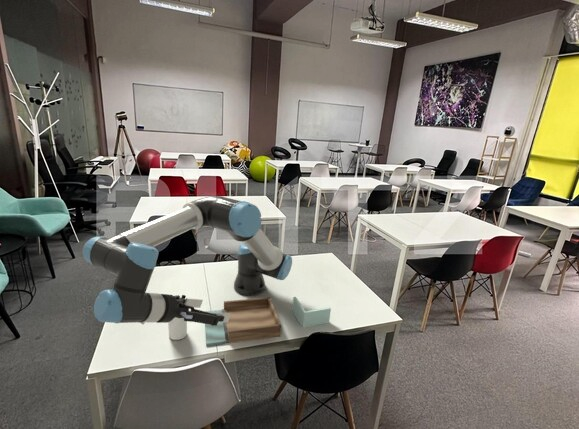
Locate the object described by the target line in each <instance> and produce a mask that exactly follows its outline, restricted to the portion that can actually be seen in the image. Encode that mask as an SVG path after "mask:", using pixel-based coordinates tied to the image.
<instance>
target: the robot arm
mask: <svg viewBox="0 0 579 429" xmlns="http://www.w3.org/2000/svg"><path fill="white" fill-rule="evenodd" d="M203 227H204V228H205V227H207V228H208V227H209V228H212V229H213V228H214V229H217V230H220V231H223V232H225V233H227V234H229V235H230V236H231V237H232V238H233V239H234V240H235V241H237V242H241V244H240V245H239V246H238V247H239V248H238V251H237V255H238V257H237V258H238V259H237V261H238V262H237V264H238V265H237V274H236V277H235V279H234V282H233V289H234V291H235V292H236V293H238V294H240V295H243V296H255V295H259V294H262V293H263V292H264V290H266V289H265V288H266V281H265V278H264V276H267V277H271V278H273V279H276V280H279V281H284V280H285V279H286V278H287V277H288V276H289V273H290V272H291V269H292V266H293V257H292V256H291V255H289V254H285V253H283V252H282V250H281V249H280V248H279V247H277V246H275V245H273V244H272V242H271V240H269V238H268V237H267V235H266V234H265V233H264V232H263V230H262V229H261V227H262V212H261V210H260V208H258V206H257V205H256V204H253V203H251V202H248V201H245V200H243V201H242V200H238V199H233V198H230V197H226V196H221V195H210V196H205V197H201V198H199V199H196V200H193V201H190V202H188V203H187V202H186V203H185V204H184V205H182V208H180V209H178V210H175V211H172V212H171V213H168V214H165V215H163V216H160V217H158V218H156V219H155V218H154V220H151V221H148V222H146V223H144V224H140V225H138V226H136V227H133V228H132V229H128V230H126V231H124V232H121V233H118V234H117V235H113V236H111V237H108V238H107V237H104V236H93V237H92V238H89V240H87V241H86V242H85V244H84V245H83V247H82V257H83V258H84V260H85V261H86V262H88V263H89V264H91V265H92V266H94V267H96V268H100V269H101V270H104V271H106V272H108V273H110V274H113V275H115V277H116V278H115V281H114V284H112V285H113V286H112V288H110V289H104V290H102V291H101V292H99V294H98V296H97V297H96V298H95V302H94V305H93V306H94V307H93V314H94V317H95V319H96V320H98V321H99V322H100V323H112V324H113V323H114V324H122V323H123V324H126V323H127V324H129V323H130V324H131V323H140V324H141V325H145V324H146V323H157V324H158V323H159V324H162V323H165V324H168V322H170V321H172V320H173V319H174V318H175V317H177V318H184V321H187V322H190V323H198V324H204V325H205V324H210V325H212V326H214V325H215V326H217V324H218V322H228V321H229V318H230V313H215V312H214V314H213V313H209V312H205V311H204V310H200V309H201V307H202V304H203V299H202V298H190V297H187V295H185V294H182V295H181V296H180V295H173V294H167V293H166V294H165V293H158V292H157V293H156V292H147V290H148V286H149V283H150V281H151V278H152V275H153V273H154V270H155V268H156V266H157V265H156V264H157V260H158V257H159V250H158V248H156V246H159V245H160V244H163V243H165V242H167V241H169V240H171V239H174V238H176V237H177V236H180V235H182V234H184V233H186V232H188V231H190V230H199V229H201V228H203ZM263 275H264V276H263ZM186 297H187V298H186ZM196 308H199V309H196Z"/></svg>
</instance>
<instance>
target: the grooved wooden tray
mask: <svg viewBox="0 0 579 429" xmlns="http://www.w3.org/2000/svg"><path fill="white" fill-rule="evenodd" d="M205 312H209V313H213V314H214V312H215V313H230V318H229V321H228V322H218V324H217V326H215V325H214V326H212V325H210V324H204V329H205V330H204V332H205V345H206V346H205V347H208V346H217V345H223V344H224V345H225V344H231V343H233V344H234V343H240V342H247V341H256V340H262V339H263V340H265V339H271V338H278V337H279V338H280V337H281V335H282V324H281V321H280V318H279V315H278V314H277V311H276V308H275V306H274V304H273V301H272V298H271V297H269V296H268V297H257V298H247V299H246V298H245V299H236V300H226V301H225V300H224V301H223V308H222V309H216V310H206V311H205Z"/></svg>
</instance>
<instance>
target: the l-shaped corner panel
mask: <svg viewBox="0 0 579 429" xmlns="http://www.w3.org/2000/svg"><path fill="white" fill-rule="evenodd" d="M331 310H332V308H331V306H329V307H322V308H318V309H308V310H306V309H305V308H304V306H303V305H302V303H301V302H300V301H299V299H298V298H297V296H293V298H292V310H291V311H292V312H293V314H294V315H295V316H294V317H295V318H297V320H299V321H298V322H299V324H300V323H301V324H300V325H301V327H302V328H308V327H307V326H309V327H313V325H314V326H318V325H317V324H319V325H323V324H322V323H325V324H328V323H327V322H329V323H330V319H331Z"/></svg>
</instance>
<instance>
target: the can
mask: <svg viewBox="0 0 579 429" xmlns="http://www.w3.org/2000/svg"><path fill="white" fill-rule="evenodd" d="M187 323H188V321H184V318H177V317H175V318H174V319H173V320H172V321H170V322H167V324H168V326H167V327H168V337H169V339H171V340H173V341H180V339H181V340H182V339H185V337H186V336H187V334H188V326H187V325H188V324H187Z"/></svg>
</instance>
